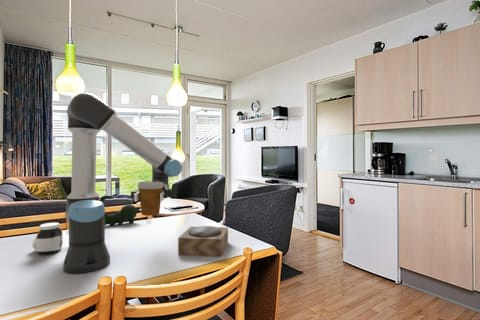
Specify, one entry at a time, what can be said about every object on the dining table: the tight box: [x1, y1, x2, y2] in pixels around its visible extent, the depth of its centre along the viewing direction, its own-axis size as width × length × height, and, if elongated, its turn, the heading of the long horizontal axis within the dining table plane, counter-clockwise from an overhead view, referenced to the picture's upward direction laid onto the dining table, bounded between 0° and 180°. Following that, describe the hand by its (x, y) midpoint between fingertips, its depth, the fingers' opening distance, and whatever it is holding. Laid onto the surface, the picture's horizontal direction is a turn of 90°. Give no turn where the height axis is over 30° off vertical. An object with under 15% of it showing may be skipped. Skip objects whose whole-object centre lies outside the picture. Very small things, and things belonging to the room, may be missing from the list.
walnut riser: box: [177, 225, 229, 257], centre depth 120 cm, size 18×18×8 cm
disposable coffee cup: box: [136, 180, 164, 216], centre depth 103 cm, size 10×10×12 cm
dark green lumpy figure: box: [99, 194, 141, 227], centre depth 162 cm, size 9×19×25 cm
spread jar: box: [31, 222, 64, 256], centre depth 116 cm, size 12×11×12 cm
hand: (148, 197), depth 98 cm, fingers closed on disposable coffee cup, 8 cm apart
